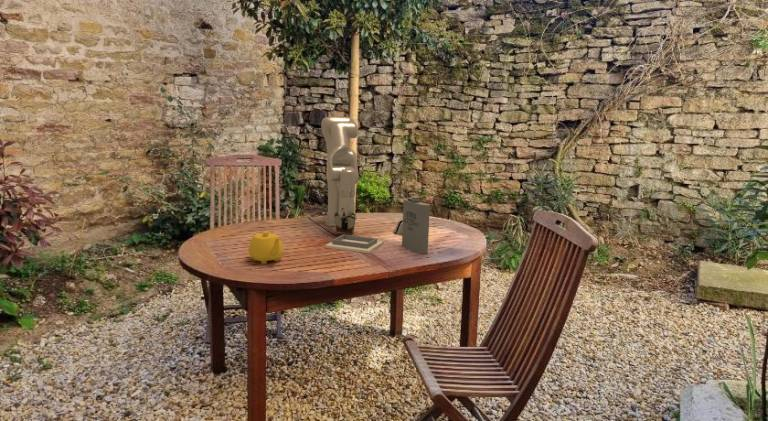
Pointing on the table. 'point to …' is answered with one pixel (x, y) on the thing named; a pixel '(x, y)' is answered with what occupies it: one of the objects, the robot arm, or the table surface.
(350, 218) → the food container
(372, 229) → the table surface
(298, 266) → the table surface
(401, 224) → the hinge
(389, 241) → the table surface
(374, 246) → the board
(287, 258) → the table surface
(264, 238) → the teapot
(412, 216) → the grey upright block
